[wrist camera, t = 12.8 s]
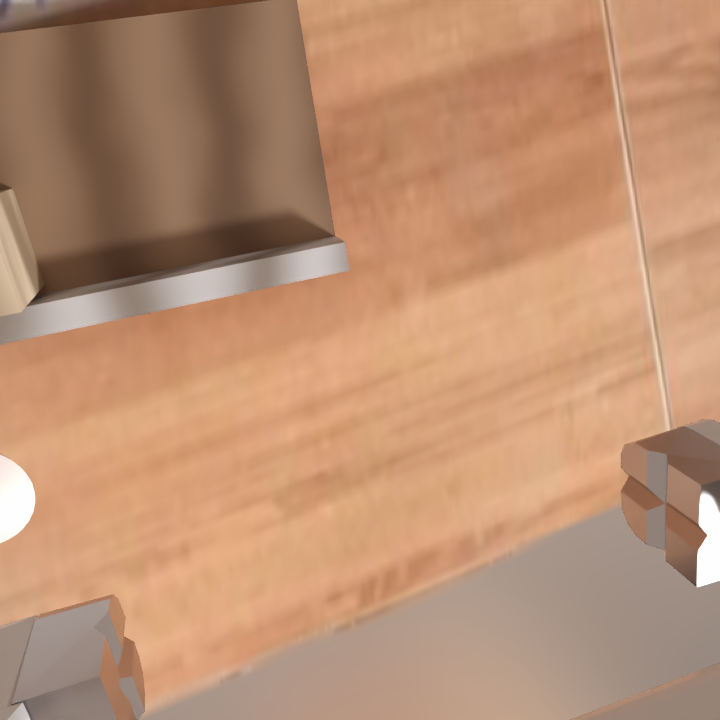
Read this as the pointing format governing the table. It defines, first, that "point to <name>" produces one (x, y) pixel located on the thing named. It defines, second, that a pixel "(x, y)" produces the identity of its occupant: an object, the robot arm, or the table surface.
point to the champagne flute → (14, 499)
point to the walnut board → (163, 162)
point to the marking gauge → (16, 259)
